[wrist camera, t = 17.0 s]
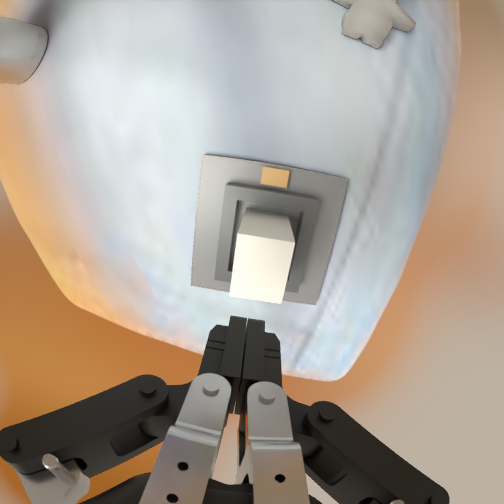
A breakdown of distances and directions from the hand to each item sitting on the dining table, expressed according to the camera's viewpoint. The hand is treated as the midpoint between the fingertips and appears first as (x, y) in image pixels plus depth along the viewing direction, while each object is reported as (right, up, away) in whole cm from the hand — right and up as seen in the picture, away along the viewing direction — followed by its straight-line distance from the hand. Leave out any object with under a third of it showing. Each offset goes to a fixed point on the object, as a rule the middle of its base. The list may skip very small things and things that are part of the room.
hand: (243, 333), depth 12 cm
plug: (+1, +5, +15) cm, 16 cm away
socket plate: (+2, +6, +16) cm, 17 cm away
